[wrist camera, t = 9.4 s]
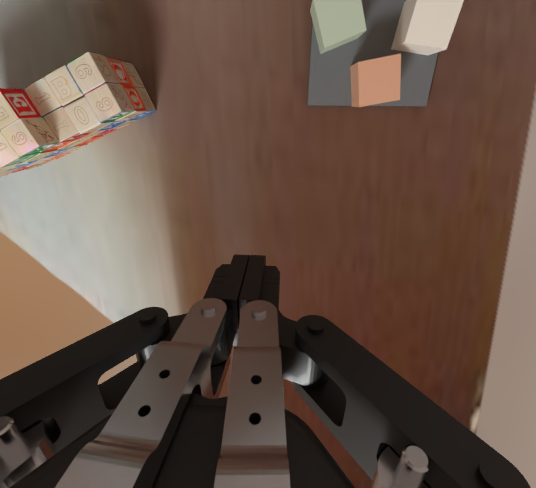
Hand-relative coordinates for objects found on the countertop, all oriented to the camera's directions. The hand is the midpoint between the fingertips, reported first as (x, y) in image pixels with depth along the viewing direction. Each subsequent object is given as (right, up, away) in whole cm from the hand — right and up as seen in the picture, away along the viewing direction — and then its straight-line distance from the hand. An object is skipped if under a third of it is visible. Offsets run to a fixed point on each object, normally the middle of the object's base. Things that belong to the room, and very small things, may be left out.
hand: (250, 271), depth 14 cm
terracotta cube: (+14, +21, +22) cm, 34 cm away
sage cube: (+9, +27, +20) cm, 35 cm away
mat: (+14, +24, +22) cm, 35 cm away
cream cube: (+18, +26, +20) cm, 37 cm away
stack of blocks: (-25, +19, +27) cm, 42 cm away
